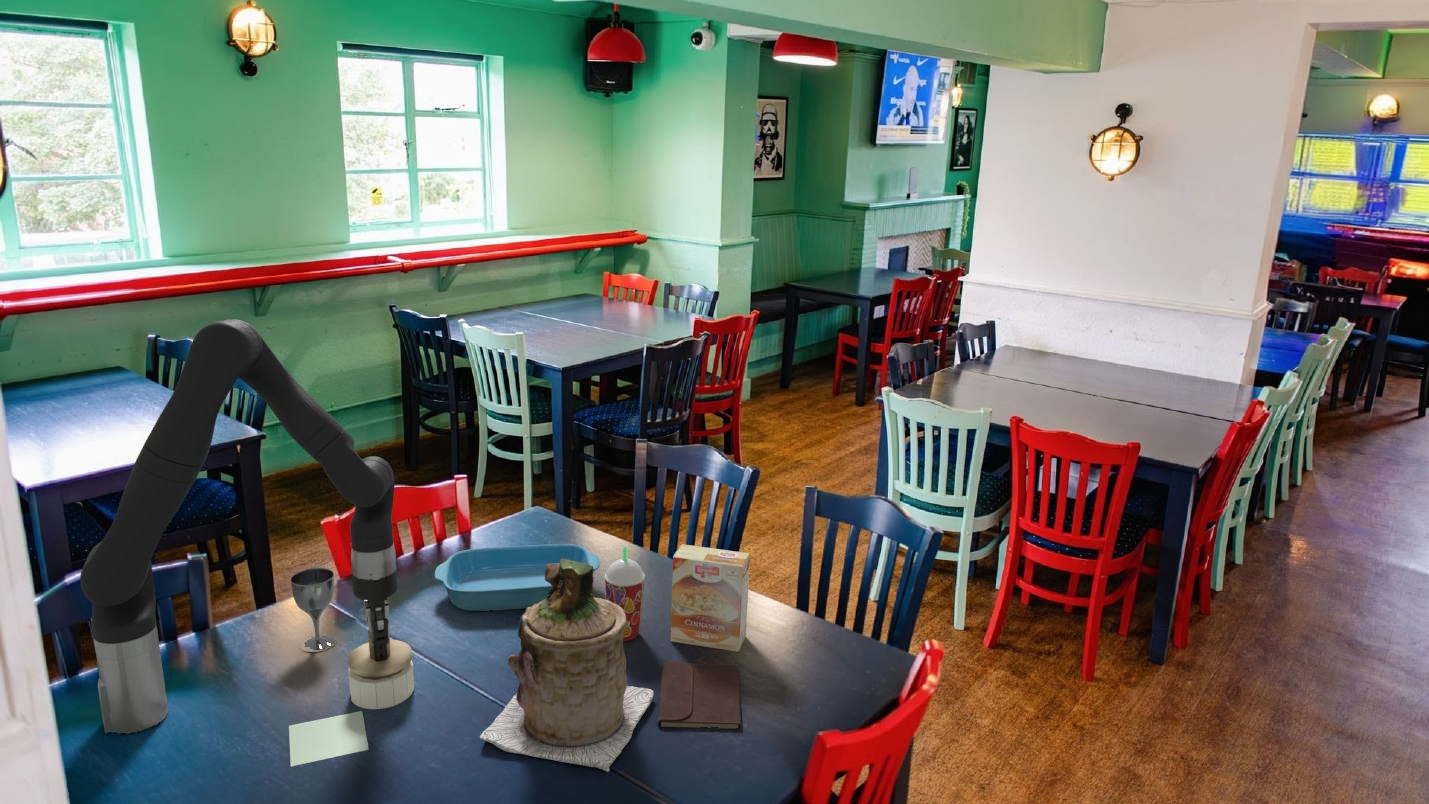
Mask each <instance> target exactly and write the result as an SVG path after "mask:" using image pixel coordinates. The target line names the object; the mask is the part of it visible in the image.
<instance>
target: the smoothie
mask: <svg viewBox="0 0 1429 804" xmlns="http://www.w3.org/2000/svg"><path fill="white" fill-rule="evenodd" d="M622 548H623V549H622V553H623V554H622V555H623V558H620V559H619V558H618V559H617V560H615V561H613V562H612V563H611V564H610V566H609V567H608V568H607V571H606V572H605V573H604V587H605V590H604V591H605V600H608V601H610V602H612V603H615V604H617V605H618V606H620V607H621V608H622V609H623V610H624V612H625V615H626V620H627V627H626V629H625V630H624V632H623V633H622V634H623V642H628V641H632V640H634V639H636V638H637V637H638V634H639V633H640V631H641V623H642V612H643V611H642V610H643V599H644V589H645V587H644V585H645V578H646V575H645V573H644V572H643V570H642V567H641V566H640V565H639V564H638V562H636V561H635V560H633V559H631V558H627V547H626V546H624V547H622Z"/></svg>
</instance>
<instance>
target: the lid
mask: <svg viewBox="0 0 1429 804" xmlns="http://www.w3.org/2000/svg"><path fill="white" fill-rule="evenodd" d="M367 631H368V632H367V633H368V634H367V637H368V642H366V643H363V644H361V645H359V646H358V647H355V648H354V649H353V650H352V651H351V652H350V653H349V655H348V658H347V660H348V662H347V663H348V665H347V666H348V669H350V670H351V671H352V672H353V673H355V674H357V675H360V676H365V677H379V676H385V675H389V674H393V673H395V672H398V671H400V670H402V669H403V668H405V667H406V666H407V665H408V664H409V663H410V662H411V659H413V655H412V654H413V651H412V647H411V646H410V645H409V644H408V643H407V642H404V641H401V640H398V639H390V627H389V628H388V638H389V641H388V643H387V659H386V660H383V661H378V662H376V661H375V659H374V647H373V642H372V632H370V631H369V629H368V630H367Z"/></svg>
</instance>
